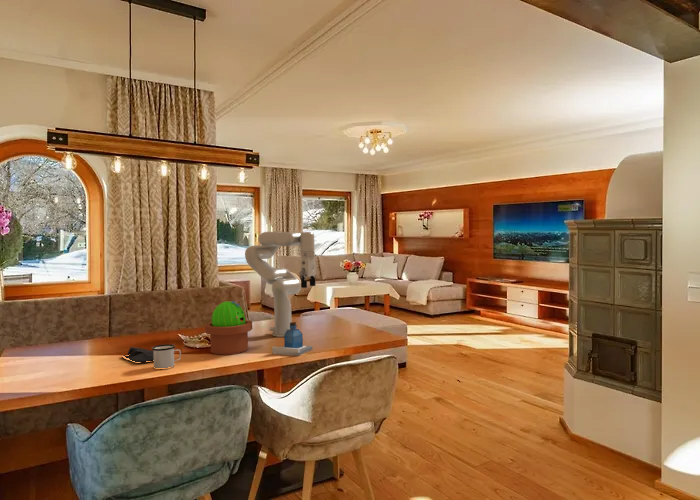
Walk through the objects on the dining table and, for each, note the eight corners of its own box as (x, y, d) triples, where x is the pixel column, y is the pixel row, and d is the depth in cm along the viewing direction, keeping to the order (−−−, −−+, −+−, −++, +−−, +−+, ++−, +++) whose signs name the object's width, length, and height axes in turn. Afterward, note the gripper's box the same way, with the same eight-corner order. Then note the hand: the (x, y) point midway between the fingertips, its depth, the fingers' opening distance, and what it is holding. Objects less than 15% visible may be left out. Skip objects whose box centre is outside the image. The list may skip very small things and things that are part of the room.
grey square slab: (272, 353, 224) (272, 347, 224) (287, 347, 237) (287, 340, 237) (298, 356, 218) (298, 349, 218) (312, 349, 231) (312, 342, 231)
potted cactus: (196, 354, 226) (195, 302, 226) (224, 344, 247) (223, 296, 246) (235, 357, 218) (233, 303, 217) (260, 347, 239) (259, 297, 238)
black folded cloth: (132, 367, 207) (131, 356, 207) (119, 358, 224) (118, 348, 224) (167, 361, 217) (167, 350, 217) (152, 352, 234) (152, 343, 234)
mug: (156, 371, 198) (155, 350, 197) (149, 367, 205) (148, 346, 205) (184, 366, 205) (184, 345, 205) (177, 362, 213) (176, 342, 212)
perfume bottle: (293, 349, 224) (292, 324, 224) (284, 347, 228) (283, 323, 228) (302, 346, 229) (302, 322, 229) (294, 345, 233) (293, 321, 233)
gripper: (306, 255, 244) (307, 288, 244) (321, 254, 260) (321, 285, 260) (293, 255, 247) (294, 288, 247) (309, 254, 263) (309, 285, 263)
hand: (308, 286), depth 254 cm, fingers open, 9 cm apart
